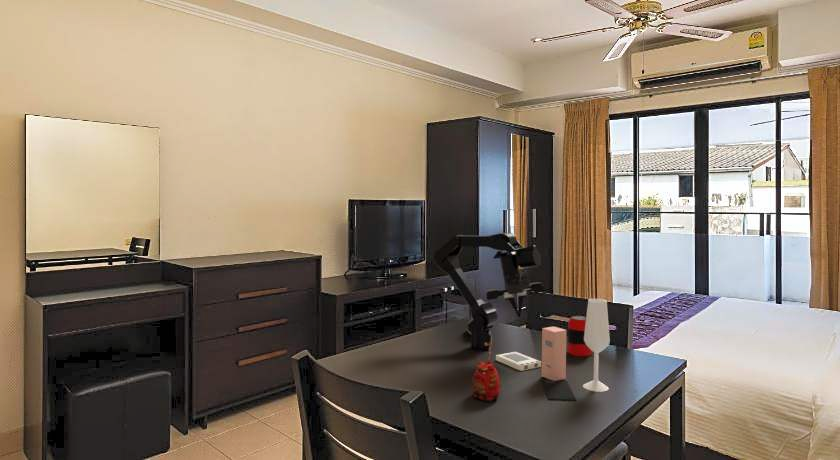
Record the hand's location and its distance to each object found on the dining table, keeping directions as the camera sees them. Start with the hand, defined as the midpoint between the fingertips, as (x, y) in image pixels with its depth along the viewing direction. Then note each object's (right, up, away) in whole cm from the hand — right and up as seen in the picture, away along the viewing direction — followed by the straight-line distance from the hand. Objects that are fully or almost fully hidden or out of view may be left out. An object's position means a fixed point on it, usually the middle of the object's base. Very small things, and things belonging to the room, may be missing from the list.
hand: (519, 317), depth 170 cm
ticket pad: (-2, -13, -8) cm, 16 cm away
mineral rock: (-10, -12, +27) cm, 31 cm away
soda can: (+21, -13, +3) cm, 25 cm away
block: (+6, -14, -22) cm, 27 cm away
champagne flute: (+15, -15, -29) cm, 36 cm away
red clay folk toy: (-16, -15, -36) cm, 42 cm away
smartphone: (+4, -15, -31) cm, 35 cm away
